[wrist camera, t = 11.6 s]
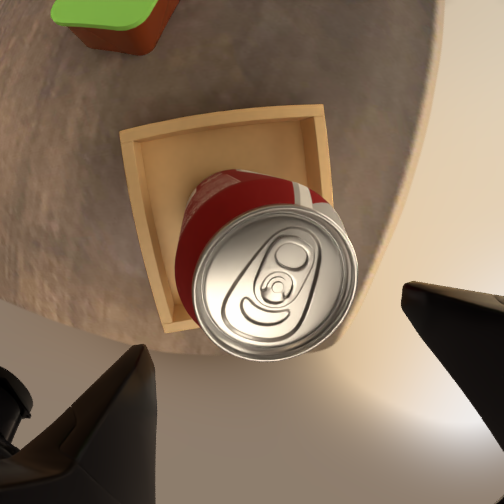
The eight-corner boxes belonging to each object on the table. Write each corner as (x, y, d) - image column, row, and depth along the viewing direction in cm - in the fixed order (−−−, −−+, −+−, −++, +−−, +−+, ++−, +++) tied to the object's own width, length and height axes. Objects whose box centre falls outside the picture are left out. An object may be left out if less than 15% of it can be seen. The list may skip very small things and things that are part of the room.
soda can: (170, 245, 20) (146, 348, 9) (207, 153, 19) (222, 143, 7) (257, 275, 22) (316, 386, 11) (295, 191, 21) (403, 234, 9)
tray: (321, 282, 24) (336, 298, 21) (167, 313, 22) (164, 333, 19) (307, 110, 19) (323, 104, 17) (129, 134, 18) (118, 131, 15)
